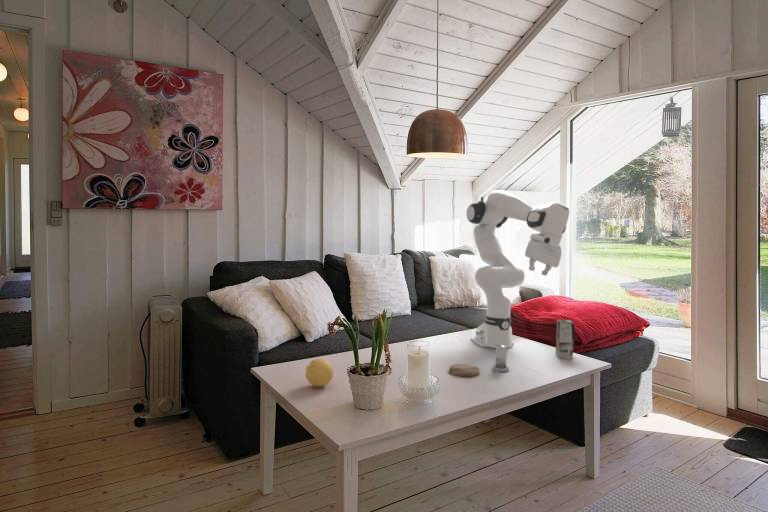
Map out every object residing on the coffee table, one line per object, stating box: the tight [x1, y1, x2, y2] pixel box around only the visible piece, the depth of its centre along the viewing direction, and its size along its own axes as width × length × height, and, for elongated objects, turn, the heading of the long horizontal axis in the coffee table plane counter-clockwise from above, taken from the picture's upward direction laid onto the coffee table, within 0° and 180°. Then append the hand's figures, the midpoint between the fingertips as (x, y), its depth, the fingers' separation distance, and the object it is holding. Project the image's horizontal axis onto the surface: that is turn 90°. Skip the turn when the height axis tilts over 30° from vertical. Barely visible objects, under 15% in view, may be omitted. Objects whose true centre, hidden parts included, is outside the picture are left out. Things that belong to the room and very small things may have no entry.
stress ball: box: [305, 358, 334, 388], centre depth 184 cm, size 10×10×10 cm
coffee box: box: [555, 319, 576, 360], centre depth 230 cm, size 9×6×16 cm
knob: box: [492, 345, 510, 373], centre depth 208 cm, size 6×6×10 cm
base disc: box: [448, 363, 480, 378], centre depth 204 cm, size 12×12×2 cm
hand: (537, 272), depth 211 cm, fingers open, 8 cm apart
